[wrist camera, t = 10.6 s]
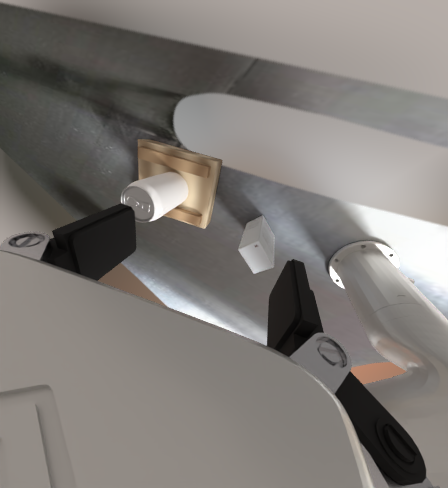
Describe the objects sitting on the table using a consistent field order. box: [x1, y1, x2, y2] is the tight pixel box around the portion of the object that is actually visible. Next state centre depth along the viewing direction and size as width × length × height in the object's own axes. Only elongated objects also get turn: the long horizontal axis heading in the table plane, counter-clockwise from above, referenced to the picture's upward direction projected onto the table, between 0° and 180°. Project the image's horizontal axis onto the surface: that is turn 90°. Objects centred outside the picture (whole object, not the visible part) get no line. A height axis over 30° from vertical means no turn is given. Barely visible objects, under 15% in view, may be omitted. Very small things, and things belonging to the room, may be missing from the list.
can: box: [121, 172, 188, 222], centre depth 32 cm, size 6×6×12 cm
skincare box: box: [238, 215, 275, 274], centre depth 37 cm, size 6×4×12 cm
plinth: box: [138, 139, 222, 229], centre depth 39 cm, size 16×14×6 cm
